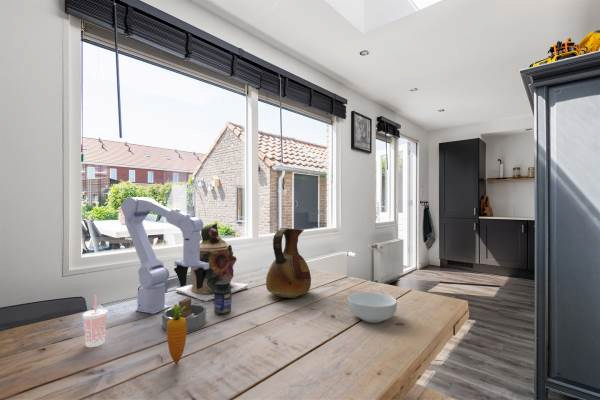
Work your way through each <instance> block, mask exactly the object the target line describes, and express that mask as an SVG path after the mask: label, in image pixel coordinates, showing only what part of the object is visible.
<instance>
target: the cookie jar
mask: <svg viewBox="0 0 600 400" xmlns="http://www.w3.org/2000/svg"><path fill="white" fill-rule="evenodd" d="M218 223H219V222H217V221H214V223H211V224H207V225H204V226H203V228H202V230H201V231H200V238H201V240H202V241H200V261H201V262H205V263H209V271H208V272H207V274H206V276H205V279H204V282H203V286H202V288H200V289H197V286H196V275H195V272H194V270H196V269H198V268H192V267H190V282H191V283H192V284H188V285H185V286H182V287H181V286H180V287H177V288H176V287H175V290H176V292H177V293H179V294H184V295H186V296H188V297H192V298H195V299H198V300H200V301H202V302H203V301H204V302H208V301H212V300H214V291H215V290H216V289H217V287H216V283H217V282H220V281H228V282H229V288H230V289H231V294H233V293H236V292H239V291H242V290H246V289H247V288H248V286H249V283H239V282H237V283H236V282H235V281H232V280H233V278H234V270H235V269H234V265H235V263H236V262H237V257H236V256H234V251H233V247H232V245H231V244H229V243H227V241H225V240H224V239H222V237H221V236H220V234H219V228H218Z"/></svg>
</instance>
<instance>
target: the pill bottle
mask: <svg viewBox="0 0 600 400" xmlns="http://www.w3.org/2000/svg"><path fill="white" fill-rule="evenodd" d="M216 287H217V289H216V290H215V291H214V299H213V302H214V303H213V306H214V307H213V309H214V310H213V312H214V314H216V315H220V316H223V315H228V314H230V312H231V311H232V293H231V289H230V288H229V282H228V281H220V282H217V283H216Z"/></svg>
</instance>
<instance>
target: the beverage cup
mask: <svg viewBox="0 0 600 400" xmlns="http://www.w3.org/2000/svg"><path fill="white" fill-rule="evenodd" d="M97 297H98V296H97V295H96V294H94V309H91V310H88V311H85V312H84V313H83V314H82V319H83V326H84V341H85V342H84V343H85V347H87V348H94V347H98V346H102V345H103V344H105V342H106V330H107V318H108V317H107V316H108V313H109V310H108V309H106V308H98V307H97V305H98V303H97V302H98V299H97Z"/></svg>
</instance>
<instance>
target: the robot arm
mask: <svg viewBox="0 0 600 400" xmlns="http://www.w3.org/2000/svg"><path fill="white" fill-rule="evenodd" d="M120 209H121V211H122V213H123V215H124V224H125V227H126V228H127V232H128V234H129V237H130V239H131V242H132V244H133V247H134V249H135V251H136V255H137V257H138V259H139V262H140V264H141V265H140V267H139V269H138V270H137V273H138V280H139V281H138V282H139V284H140V287H139V289H138V291H137V294H136V296H137V298H136V301H137V306H136V307H137V308H136V309H135V311H136V312H142V313H145V314H146V313H147V314H152V315H155V314H157V313H159V312H161V311H165V310H167V309H170V308H171V306H170V304H169V305H167V304H166V298H165V297H166V286H165V285H166V284H167V281H169V278H170V271H169V269H168V268H167V267H166V266H165V264H164V262H163V261H162V260H159V259H158V258H157V256H156V254H155V252H154V248H153V246H152V244H151V241H150V239H149V237H148V234H147V232H146V229H145V226H144V224H143V222H144V220H145V219H146V218H147V217H148V215H149V214H150V213H154V214H156V215H159V216H161V217H163V218H165V221H166V223H168V224H170V225H172V226H174V227H176V228H178V229H180V231H181V234H182V238H183V239H182V240H183V242H182V243H183V245H182V246H183V247H182V248H183V250H182V253H183V254H182V255H183V256H182V257H183V258H182V260H181V259H177V260H174V262H173V263H174V269H173V271H174V272H175V274H176V276H177V278H178V282H179V285H180V287H184V286H187V279H188V277H187V276H188V271H189V268H191V267H192V268H198V269H196V270H194V272H195V275H196V286H197V289H200V288H202V286H203V282H204V279H205V276H206V274H207V272H208V271H209V263H205V262H201V261H200V243H201V230H202V228H203V227H204V222H203V220H202V219H201V218H200V217H198V216H193V217H192V215H191V214H190V213H185V212H182V209H180V208H171V209H170V208H168V207H166V206H165V205H162V204H161V203H159V202H157V201H156V200H155V199H154V198H150V197H148V196H147V197H146V196H145V197H137V196H136V197H133V196H127V197H126V198H125V199H123V202H122V203H121V206H120Z"/></svg>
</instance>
